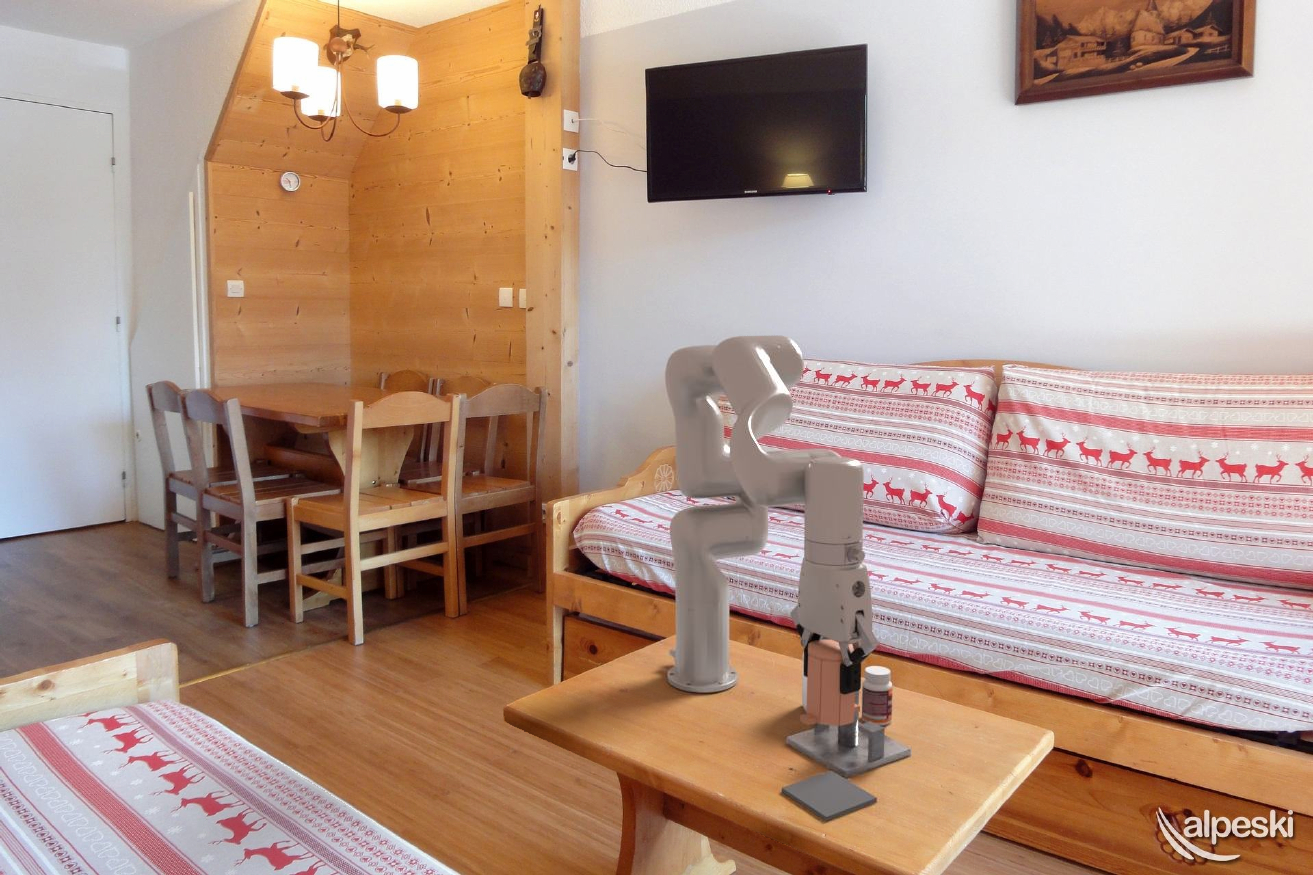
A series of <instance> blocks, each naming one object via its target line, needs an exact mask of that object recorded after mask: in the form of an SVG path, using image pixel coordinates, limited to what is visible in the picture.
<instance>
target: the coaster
mask: <svg viewBox="0 0 1313 875" xmlns="http://www.w3.org/2000/svg"><path fill="white" fill-rule="evenodd" d="M781 792H782V793H783V794H785V795H786V796H787V797H789V798H791V799H792V800H793V801H795V802H796V803H798V804H799V805H801V806H803V807H804V808H805V809H807V810H808V811H810V812H811V813H813V814H815V815H816V816H818V818H820V819H822V820H824V821H825V822H828V821H831V820H833V819H836V818H839V817H841V816H845V815H847V814H849V813H851V812H854V811H857V810H859V809H862V808H865V807H867V806H870V805H872V804H874V803H877V802H878V797H877V796H875V795H873V794H872V793H870V792H868V791H866V789H863V788H861V787H859V786H858V785H857V784H855V783H853V782H851V781H850V780H848V779H847V778H845V777H843V776H841V775H839V774H838V773H836V772H834V771H833V770H828V771H826V772H822V773H819V774H817V775H814V776H811V777H808V778H806V779H802V780H799V781H797V782H794V783H791V784H788V785H786V786H783V787H782V786H781Z"/></svg>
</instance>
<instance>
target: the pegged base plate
mask: <svg viewBox="0 0 1313 875" xmlns="http://www.w3.org/2000/svg"><path fill="white" fill-rule="evenodd" d="M855 704H857V705H859V706H860V690H859V691H856V692H855ZM859 714H860V712H857V713H854V722H853V723H849V724H845V725H842V726H834V725H824V724H818V723H815V724H813V728H811V729H808V730H805V731H801V732H799V733H795V734H791V735H788V736H786V744H787V745H789V746H790V747H792V748H794V749H796V751H799V752H801V753H802V754H803V755H806V756H807V757H809V758H811V759H813V760H814V761H816V762H817V763H819V764H821V765H822V766H824V767H826V768H827V769H829V770H830V771H833V772H834V773H836V774H838V775H840V776H841V777H843V778H845V779H849V778H851V777H854V776H857V775H859V774H862V773H864V772H868V771H870V770H873V769H875V768H878V767H881V766H884V765H887V764H890V763H893V762H895V761H898V760H901V759H903V758H907V757H909V756H911V755H912V748H910V747H909V746H907V745H905V744H904V743H901V742H899V741H897V740H895V739H893V738H891V737H890V736H887V735H885V729H886V728H885V727H883V726H879V725H877V724H875V723H873V722H871V721H870V722H867V723H866V722H864V723H862V722H860V721H859V717H860V716H859Z"/></svg>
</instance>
